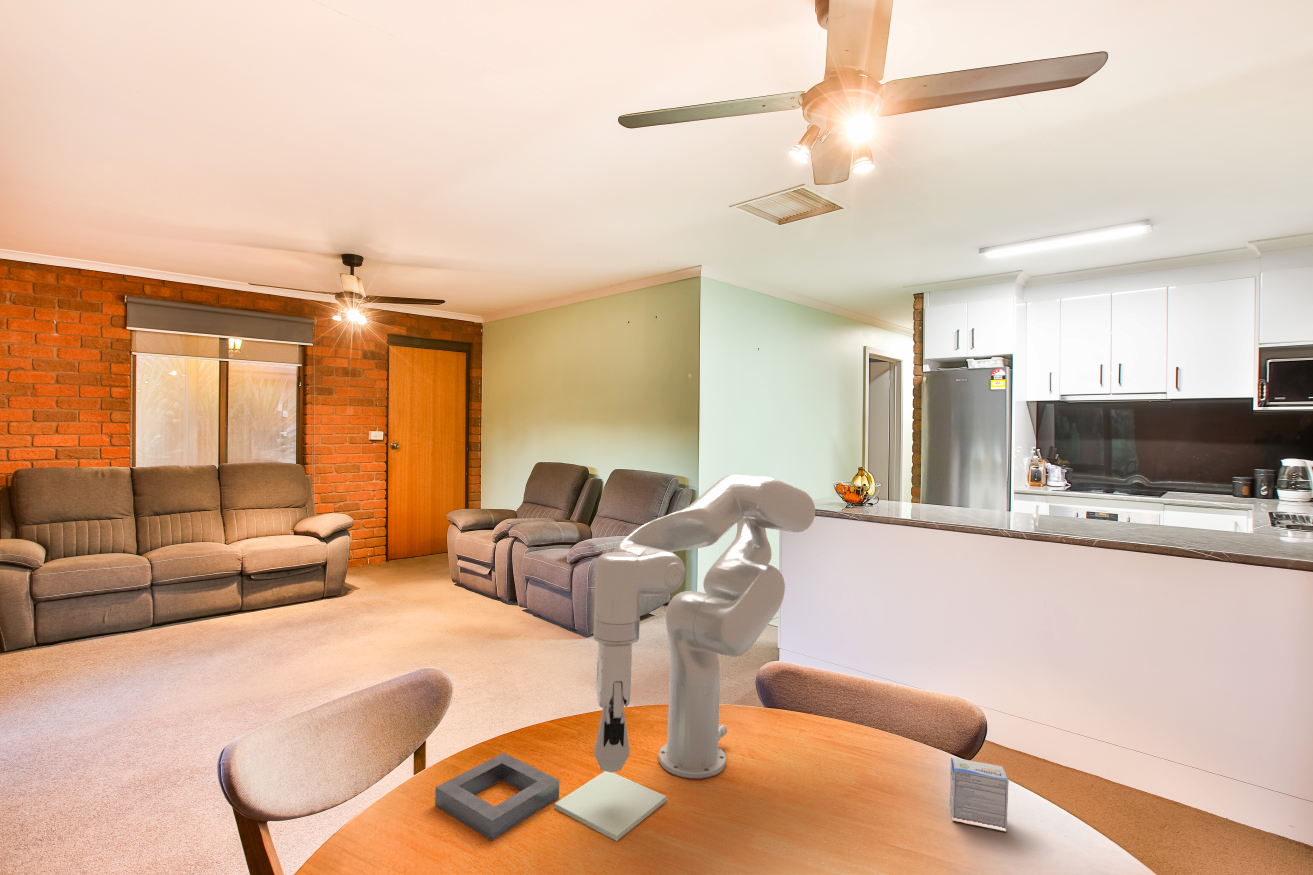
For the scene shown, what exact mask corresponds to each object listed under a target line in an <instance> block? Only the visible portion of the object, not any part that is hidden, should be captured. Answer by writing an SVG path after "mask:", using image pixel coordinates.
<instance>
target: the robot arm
mask: <svg viewBox="0 0 1313 875" xmlns="http://www.w3.org/2000/svg"><path fill="white" fill-rule="evenodd" d="M815 517H816V506H815V502H814V501H813V499H812V497H811V496H810V495H809V493H808V492H806V491H805V490H802V489H800V488H798V487H796V486H793V485H790V484H788V483H786V482H784V481H781V480H779V479H776V478H773V477H769V476H766V475H765V476H762V475H751V474H750V475H749V474H740V473H737V474H728V475H725V476H724V477H722V478H721V479H720V480H717V482H716V483H715V484H713V485H712V486H711V487H709V488H708V489H707V490H706V491H704V492H703V494H701V495H699V497H698V498H696V499H695V500H694V501H693V502H692V503H691V504H689V505H688V506H687V507H684V508H683V509H679V510H677V511H674V512H671V513H669V514H667V515H664V516H662V517H659V518H655V519H653V520H651V521H649V522H647V523H644V524H643V525H641V526H639V527H638V528H637V529H635V530H634V531H633V532H631V533H630V534H629V535H627V537H625V538H624V539H623V540H621V541H620V542H619V543H618V545H617V546H615V548H614V549H613V551H608V552H604V553H602V554H600V555H599V557H597V560H596V567H595V583H594V584H595V585H594V588H595V589H594V608H593V609H594V612H593V638H592V639H593V640H594V641H595V642H596V643H598V645H597V646H598V647H597V662H596V677H595V690H596V691H595V692H596V697H597V704H598V706H599V707H600V708H601V709H603V706H607V708H606V722H604V747H605V745H606V743H607V741H608V740H609V743H610V744H611V745H617V744H618V743H619V740H620V743H621V745H622V747H623V745H624V714H625V708H627V707H628V706H629V704H630V701H631V700H630V699H631V690H632V689H631V687H632V667H633V666H632V665H633V664H632V662H633V660H632V659H633V644H635V643H637V642H638V641H639V640H640V626H641V625H640V624H641V623H640V622H641V616H640V615H641V598H642V597H643V596H666V595H669V594H672V593H674V592H676V591H678V589H679V588H680V587H681V586H682V584H683V582H684V580H685V577H686V567H685V563H684V562H683V559H681V558H680V556H678V555H677V554H675V553H673V552H679V551H686V550H687V551H688V550H689V551H690V550H697V549H701V548H707V547H710V546H713V545H715V544H716V543H717V542H718V541H719V540H721V539H722V538H723V536H724V535H726V534H727V532H728V531H730V530H731V529H732V528H733V527H734V526H735V525H736V524H737V525H736V533H735V534H736V535H735V538H734V540H733V541H732V542H731V543H730V544H729V546H728V547H727V548H726V549H725V550H724V552H723V553H722V554H721V555H720V556H719V557H718V558H717V559H716V560H715V562H714V563H713V564H712V565H711V566H710V568H709V569H708V571H707V572H706V573H705V575H704V578H703V586H702V587H703V590H704V592H701V591H697V590H684V591H682V592H678V593H677V594H675V595H674V596H673V597H672V598H671V599H670V600H669V603H668V604H667V608H666V612H665V626H666V633H667V638H668V647H669V677H668V678H669V680H668V681H669V682H668V711H667V712H668V714H667V743H665V744H664V745H662V746H661V748H660V749H659V751H658V761H659V762H658V763H659V764H660V766H661V767H662V768H663V769H664V770H666V771H667V772H668V773H670V774H672V775H675V776H677V777H681V778H687V779H705V778H710V777H713V776H716V775H717V774H719V773H721V772H722V771H723V770H724V769H725V767H726V765H727V763H726V762H727V756H726V753H725V752H724V751H723V750H722V748H721V747H719V742H720V741H721V738H722V737H724V736H725V735H726V734H727V733H728V730H727V726H725V725H724V724H720V723H719V722H720V699H721V698H720V695H721V692H720V691H721V664H720V659H719V655H718V654H720V655H722V656H725V657H730V658H738V657H741V656H743V655H745V654H746V653H748V651H749V650H750V649H751V648H752V647H753V645H754V644H755V643H756V641H757V640H758V639H759V638H760V637H761V635H762V633H763V632H764V631H765V630H766V628H767V626H768V625H769V624H770V623H771V621H772V620H773V619H774V617H775V616H776V614H777V613H778V611H779V609H781V605H782V603H783V600H784V596H785V591H786V590H785V589H786V584H785V579H784V575H783V574H782V572H781V571H780V570H779V569H778V568H777V567H775V566H773V565H772V564H770V562H771V560H772V557H773V556H772V555H773V554H772V553H773V552H772V547H771V544H770V542H769V539H768V536H767V529H771V530H778V531H784V532H790V533H802V532H805V531H806V530H808V529H809V528H810V527H811V526H812V524H813V522H814V519H815ZM611 700H613V703H610V701H611ZM610 708H613V711H611V713H610Z"/></svg>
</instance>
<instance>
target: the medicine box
mask: <svg viewBox="0 0 1313 875" xmlns="http://www.w3.org/2000/svg"><path fill="white" fill-rule="evenodd" d="M1007 776H1008V775H1007V774H1006V771H1005V769H1004V767H1003V766H1001V765H997V764H991V763H986V762H980V761H974V760H968V759H962V758H957V757H951V758H950V776H949V777H950V780H949V781H950V782H949V808H950V807H951V810H950V814H951V813H952V816H951V818H952V817H953V818H957V819H962V820H967V821H973V822H978V823H982V824H987V825H993V826H998V827H1002V828H1005V829H1007V830H1008V806H1009V805H1008V803H1009V785H1010V784H1009V782H1010V781H1009V778H1008V777H1007Z"/></svg>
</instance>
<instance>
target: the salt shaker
mask: <svg viewBox="0 0 1313 875" xmlns="http://www.w3.org/2000/svg"><path fill="white" fill-rule="evenodd" d="M610 703H613V700H611V701H610ZM606 708H607V706H603V708H602V711H601V716H600V721H599V726H598V729H597V731H598V732H597V736H596V740H595V745H594V752H593V753H594V758H595V760H596V761H597V762H596V763H597V764H598V765H599V768H600V770H601V771H603V772H604V771H607V772H613V773H615V772H619V771H622V769H623V767H624V765H625V763H626V762H627V760H628V758H629V756H630V743H629V742H630V741H629V735H628V729H627V722H626V716H625V715H626V714H625V713H624V745H623V747H622V745H621V743H620V740H619V743H618V744H617V745H611V744H610V743H609V740H608V741H607V743H606V745H605V747H604V722H606ZM611 711H613V708H610V713H611Z"/></svg>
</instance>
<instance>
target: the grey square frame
mask: <svg viewBox="0 0 1313 875" xmlns="http://www.w3.org/2000/svg"><path fill="white" fill-rule="evenodd" d="M501 781H502V782H504V783H506V784H508V785H509V786H512V787H513V788H515V789H517V790H519V791H518V792H517V793H516V794H513V795H511V797H509V798H507V799H505V800H504V801H502V802H500V803H498V804H496V805H493V804H492V803H490V802H488V801H485V800H484V799H482V798H480V797H478V796H477V794H480V793H481V792H482V791H485V790H486V789H488V788H490V787H492V786H493V785H495V784H498V783H499V782H501ZM434 794H435V798H434V800H435V801H434V806H435V807H436V808H438V809H440V810H441V811H443V812H444V813H446V814H447V815H449V816H451V817H453V818H454V819H455V820H457V821H459V822H460V823H463V824H464V825H465V826H467V827H468V828H470V829H472V830H474V831H475V832H477V833H478V834H480V835H482V836H483V837H485V838H486V839H488V840H489V841H494V840H495V839H498V837H500V836H502V835H504V834H505V833H507V832H508V831H510V830H511V829H513V828H514V827H515V826H517V825H519V824H521V823H522V822H523V821H525V820H527V819H528V818H530V817H532V816H533V815H535V814H537V813H538V812H540V811H541V810H543V809H544V808H546V807H547V806H549V805H550V804H553V802H555V801H556V800H558V799H560V779H558V778H556V777H555V776H552V775H550V774H548V773H546V772H544V771H542V770H540V769H537V768H536V767H534V766H532V765H529V764H528V763H526V762H523V761H522V760H520V759H517V758H516V757H513V756H512V755H509V754H507V753H505V752H502V753H500V754H499V755H497V756H494V757H492V758H491V759H489V760H487V761H485V762H483V763H481V764H479V765H476V766H474V767H473V768H471V769H469V770H467V771H464V772H463V773H461V774H459V775H457V776H454V777H453V778H451V779H449V780H447V781H445V782H443V783H441V784H439V785H437V786H435V792H434Z"/></svg>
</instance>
